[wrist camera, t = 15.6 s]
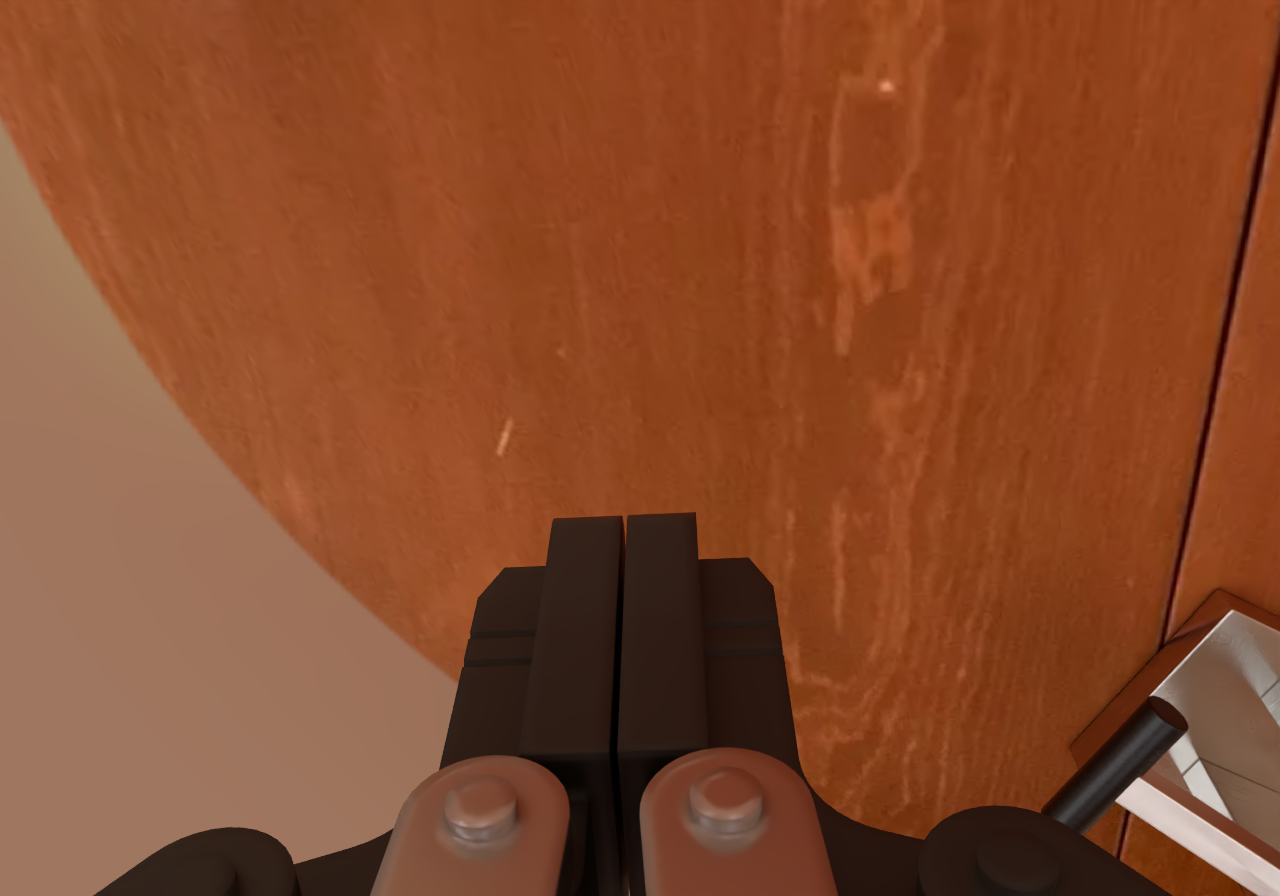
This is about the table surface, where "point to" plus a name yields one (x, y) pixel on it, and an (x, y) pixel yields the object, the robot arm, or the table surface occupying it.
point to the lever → (1162, 799)
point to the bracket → (1215, 712)
